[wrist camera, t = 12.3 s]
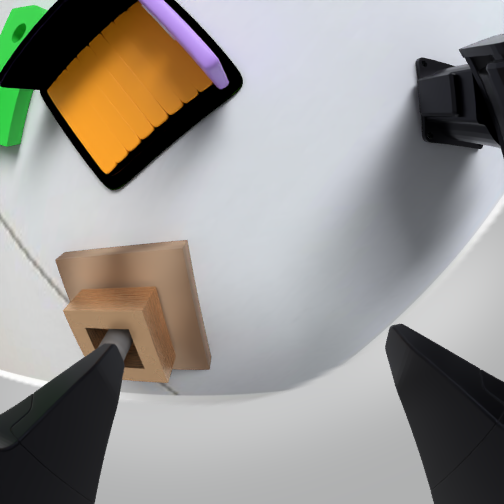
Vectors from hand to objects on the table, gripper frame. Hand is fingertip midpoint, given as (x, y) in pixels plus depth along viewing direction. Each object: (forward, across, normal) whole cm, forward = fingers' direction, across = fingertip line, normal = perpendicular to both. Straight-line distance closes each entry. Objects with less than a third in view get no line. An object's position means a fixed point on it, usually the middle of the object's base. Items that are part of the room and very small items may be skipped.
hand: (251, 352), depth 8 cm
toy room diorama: (+12, +7, -12) cm, 19 cm away
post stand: (+12, +10, +6) cm, 17 cm away
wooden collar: (+10, +10, +6) cm, 15 cm away
